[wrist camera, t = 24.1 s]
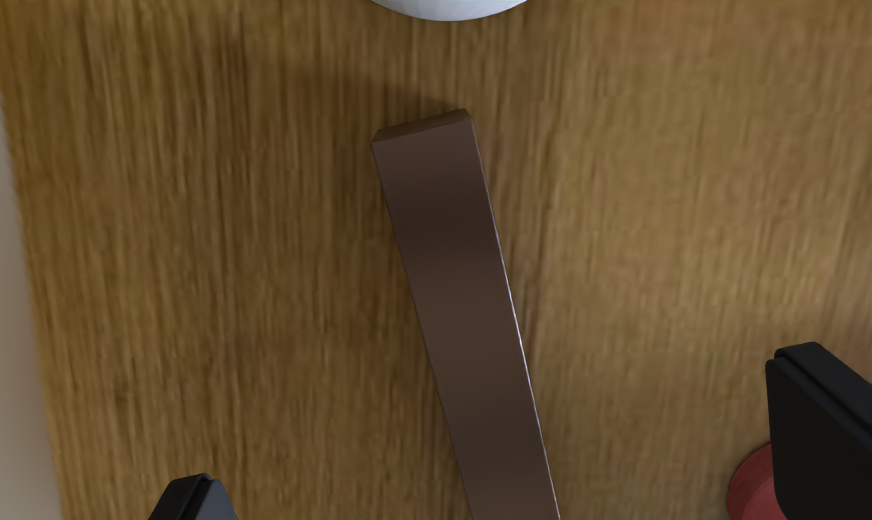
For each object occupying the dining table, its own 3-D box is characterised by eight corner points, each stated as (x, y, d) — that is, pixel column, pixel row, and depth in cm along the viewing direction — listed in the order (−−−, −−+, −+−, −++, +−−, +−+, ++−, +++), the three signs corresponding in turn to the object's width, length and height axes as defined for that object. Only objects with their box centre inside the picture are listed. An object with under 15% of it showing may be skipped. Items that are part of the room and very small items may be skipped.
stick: (376, 129, 17) (368, 142, 14) (466, 107, 17) (472, 116, 14) (501, 594, 22) (510, 658, 19) (570, 580, 22) (588, 643, 19)
